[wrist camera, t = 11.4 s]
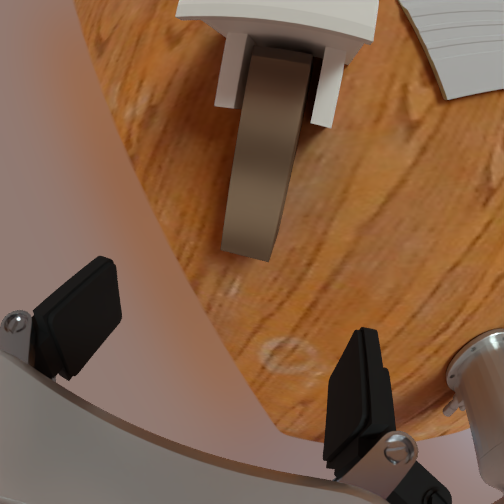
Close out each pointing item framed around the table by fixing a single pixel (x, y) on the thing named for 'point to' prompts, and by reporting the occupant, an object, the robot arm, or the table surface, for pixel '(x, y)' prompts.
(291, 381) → the table surface
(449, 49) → the baseboard molding
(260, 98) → the rail
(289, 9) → the white forked bracket
